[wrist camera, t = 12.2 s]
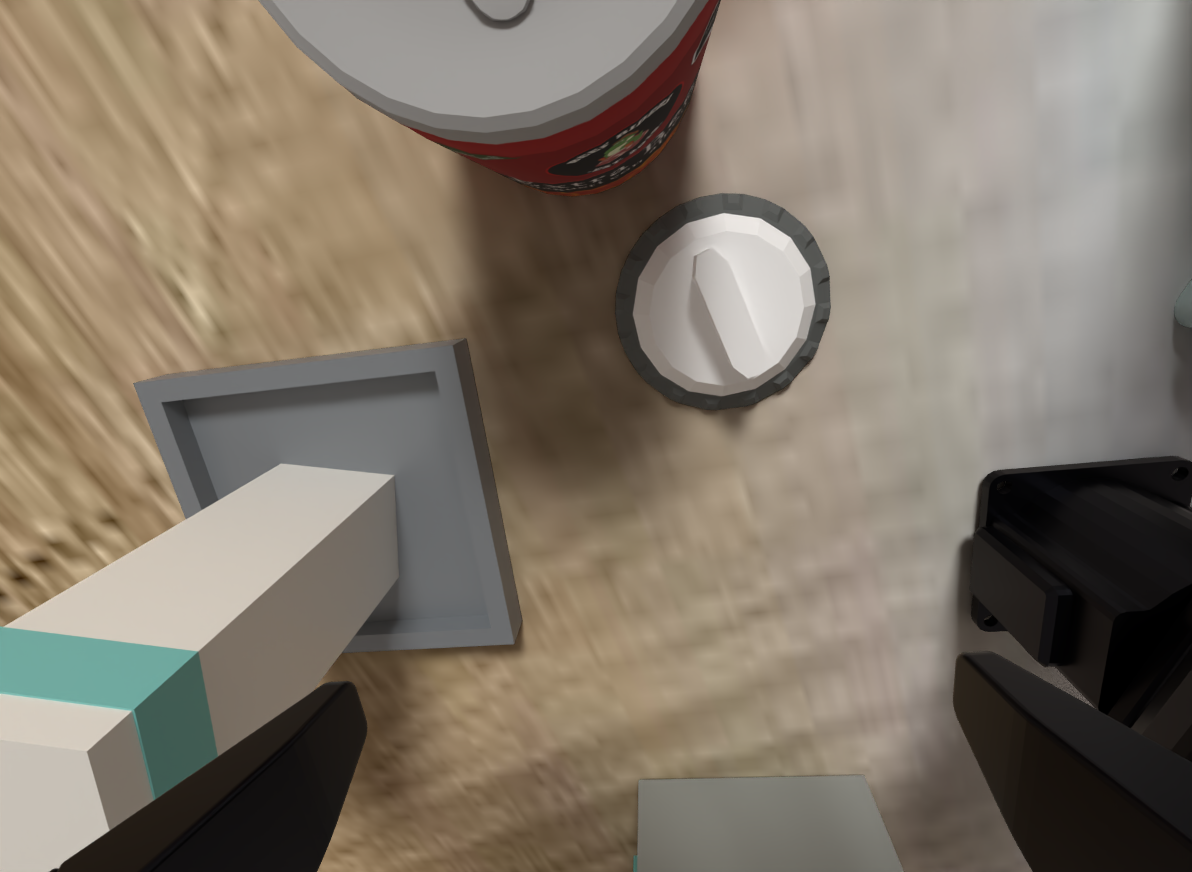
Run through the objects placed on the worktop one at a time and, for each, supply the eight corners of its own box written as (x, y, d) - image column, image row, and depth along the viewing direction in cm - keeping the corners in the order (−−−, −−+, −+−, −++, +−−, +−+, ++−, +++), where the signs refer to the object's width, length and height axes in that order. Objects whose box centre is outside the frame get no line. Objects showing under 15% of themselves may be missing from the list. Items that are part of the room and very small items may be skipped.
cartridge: (395, 474, 22) (88, 749, 10) (400, 578, 23) (138, 926, 11) (279, 462, 22) (-157, 716, 10) (291, 565, 23) (-76, 893, 11)
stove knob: (665, 438, 21) (667, 467, 18) (578, 255, 19) (566, 256, 17) (858, 356, 20) (892, 374, 17) (783, 149, 18) (807, 131, 15)
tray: (466, 338, 20) (452, 344, 19) (522, 620, 24) (514, 644, 22) (166, 374, 22) (133, 383, 20) (262, 635, 25) (240, 658, 24)
